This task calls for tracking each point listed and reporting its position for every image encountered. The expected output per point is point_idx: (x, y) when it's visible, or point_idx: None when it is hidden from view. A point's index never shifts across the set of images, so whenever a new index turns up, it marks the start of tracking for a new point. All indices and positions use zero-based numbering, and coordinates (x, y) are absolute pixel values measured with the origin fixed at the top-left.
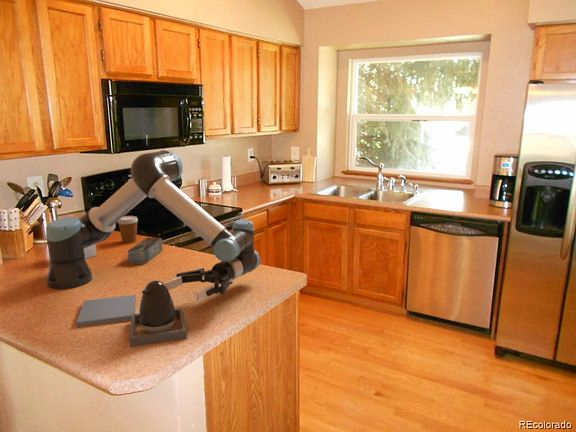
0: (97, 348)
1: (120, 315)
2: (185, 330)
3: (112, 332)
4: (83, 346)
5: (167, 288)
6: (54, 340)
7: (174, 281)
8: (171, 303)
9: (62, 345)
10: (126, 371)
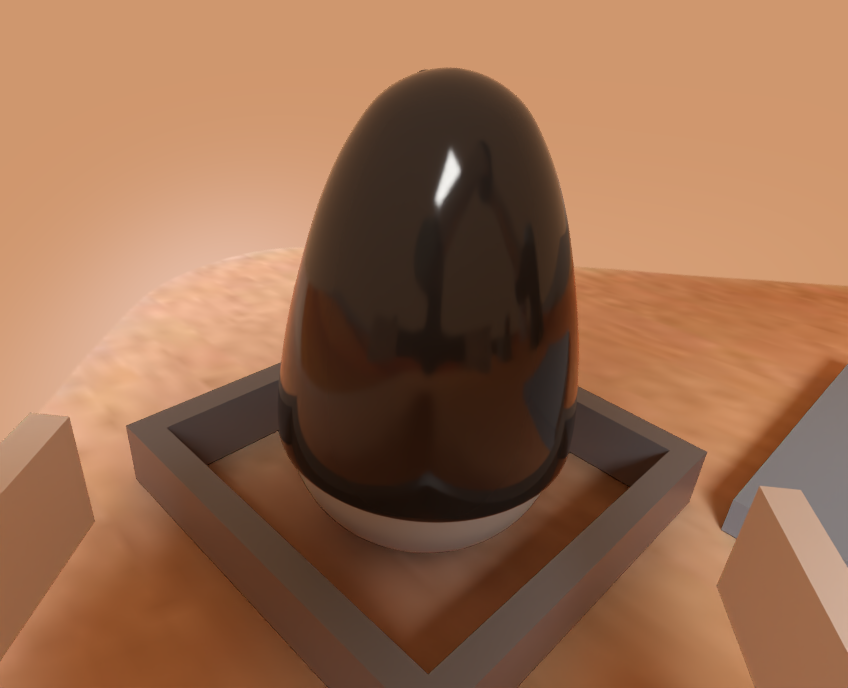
0: None
1: (796, 466)
2: (132, 424)
3: (638, 396)
4: (605, 310)
5: (734, 567)
6: (754, 306)
7: (827, 665)
8: (297, 307)
9: (682, 297)
10: (285, 271)
